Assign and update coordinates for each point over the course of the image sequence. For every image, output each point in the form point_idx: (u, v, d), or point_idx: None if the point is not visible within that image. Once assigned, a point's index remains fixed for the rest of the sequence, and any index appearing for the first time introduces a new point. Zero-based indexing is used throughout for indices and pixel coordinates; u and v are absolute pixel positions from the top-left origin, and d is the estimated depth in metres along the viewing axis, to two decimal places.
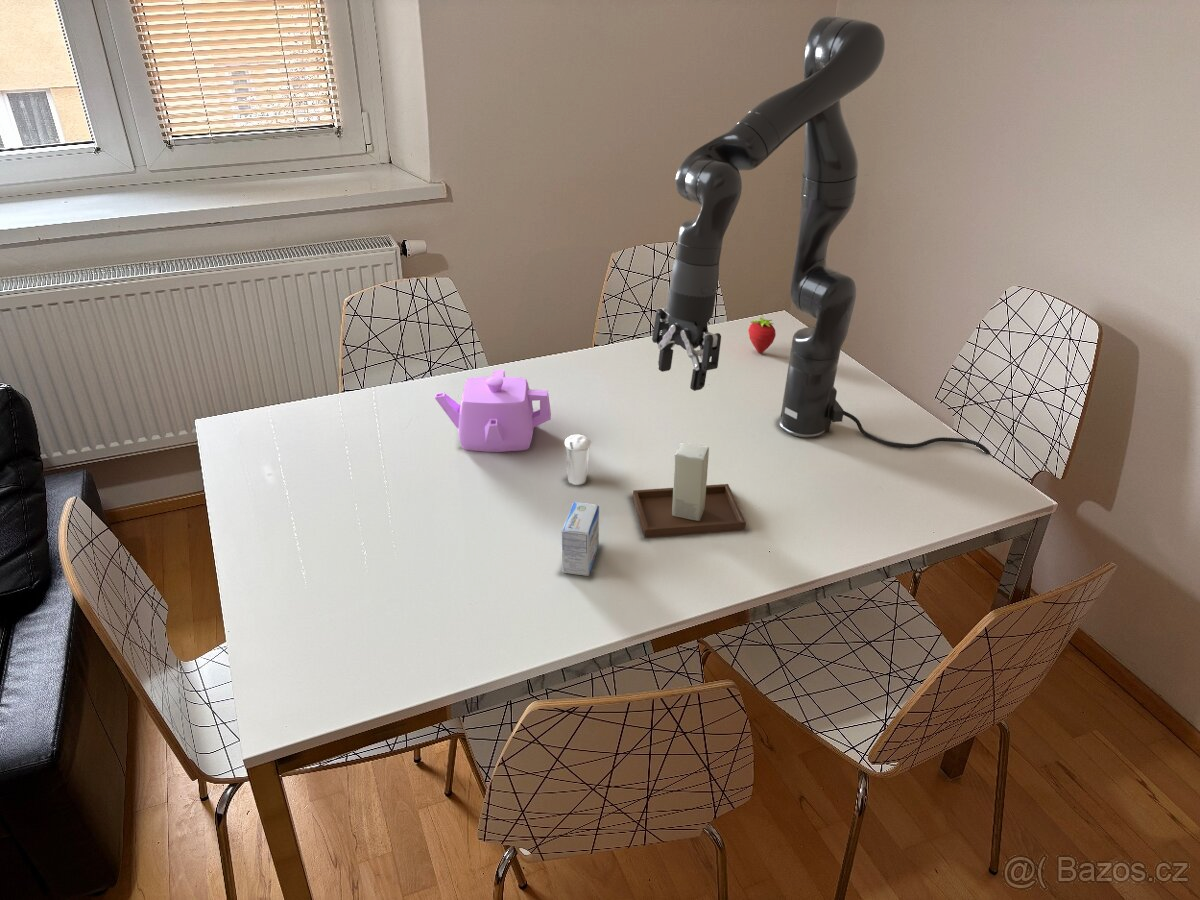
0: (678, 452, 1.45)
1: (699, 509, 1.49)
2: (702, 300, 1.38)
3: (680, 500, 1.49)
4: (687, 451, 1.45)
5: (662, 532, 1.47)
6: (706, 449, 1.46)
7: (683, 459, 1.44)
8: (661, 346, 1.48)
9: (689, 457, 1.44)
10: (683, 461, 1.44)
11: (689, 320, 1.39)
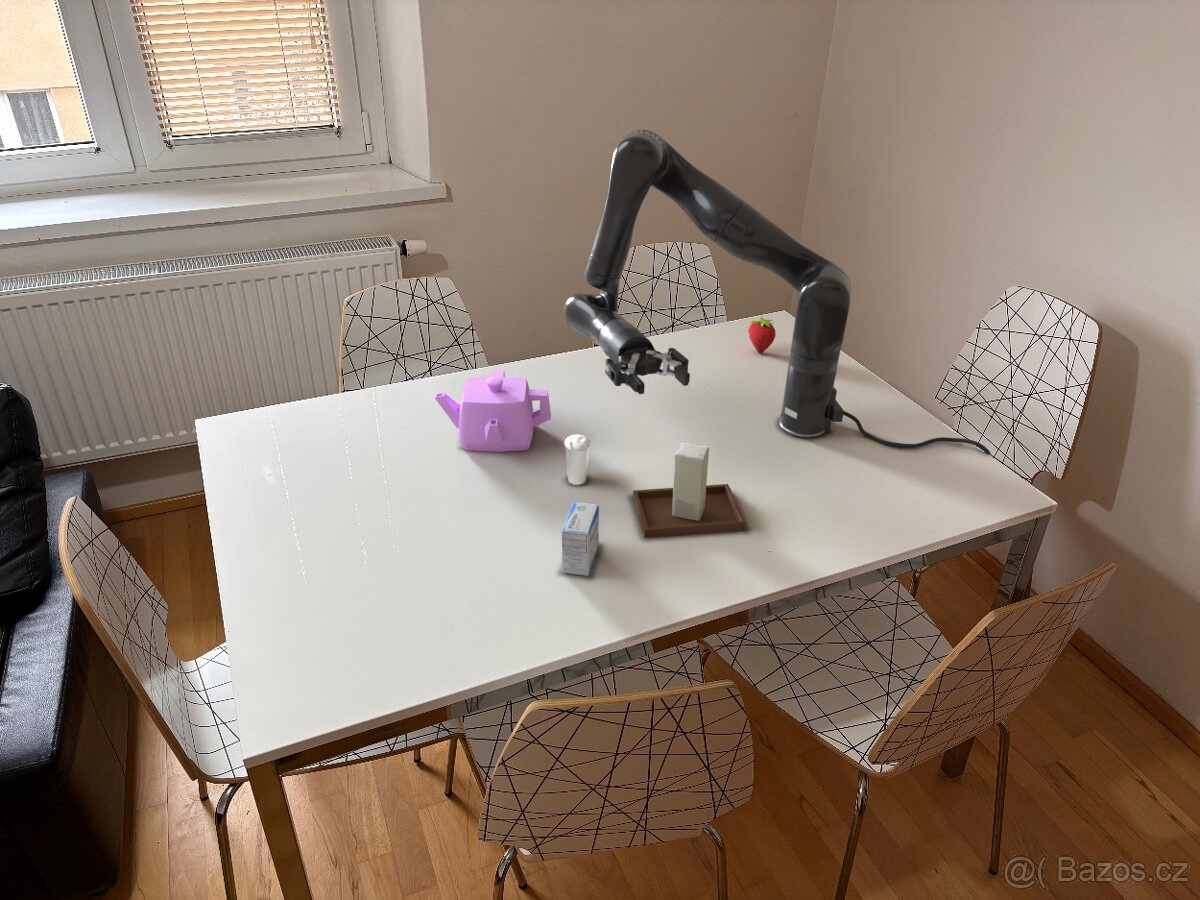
0: (678, 452, 1.45)
1: (699, 509, 1.49)
2: (609, 355, 1.61)
3: (680, 500, 1.49)
4: (686, 451, 1.45)
5: (662, 532, 1.47)
6: (706, 449, 1.46)
7: (683, 459, 1.44)
8: (675, 375, 1.56)
9: (689, 457, 1.44)
10: (683, 461, 1.44)
11: (621, 369, 1.60)
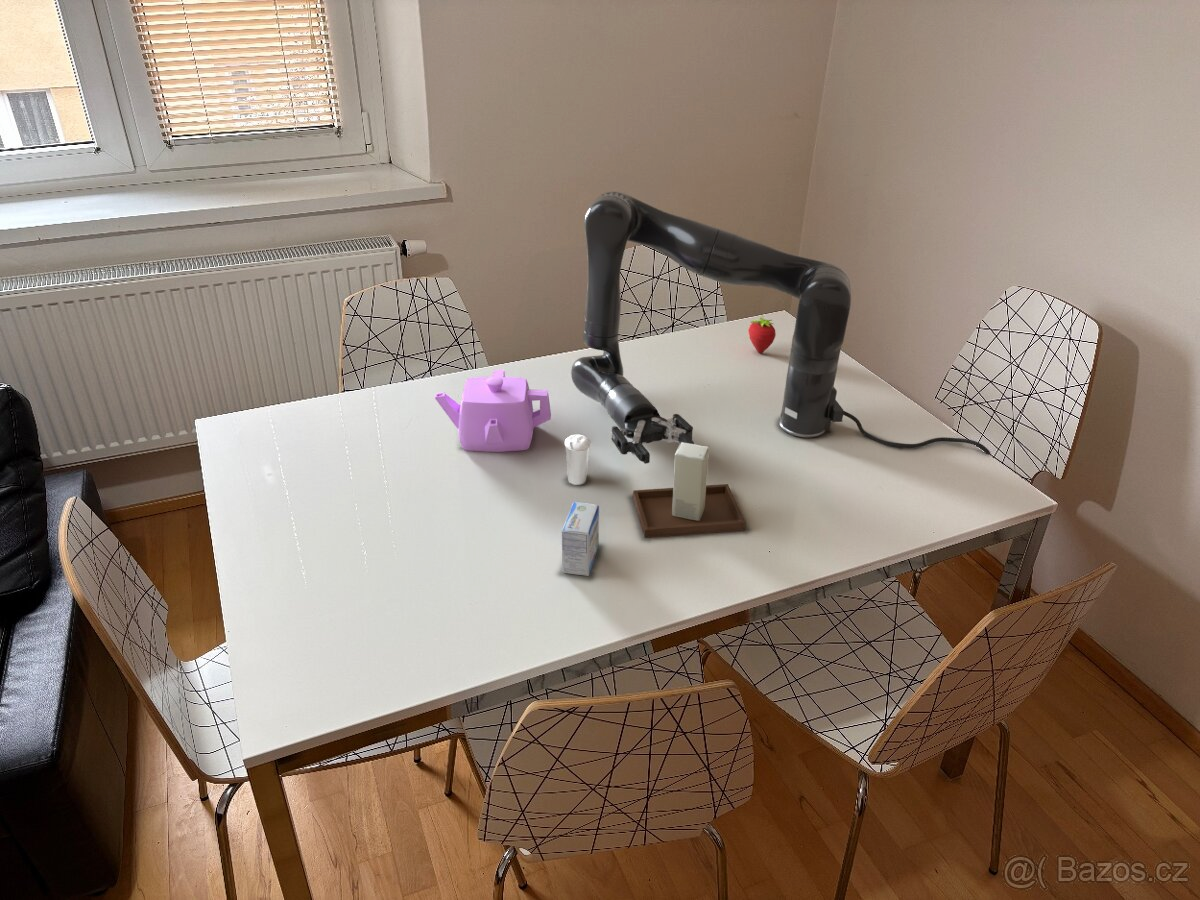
0: (678, 452, 1.45)
1: (699, 509, 1.49)
2: (615, 421, 1.65)
3: (680, 500, 1.49)
4: (686, 451, 1.45)
5: (662, 532, 1.47)
6: (706, 449, 1.46)
7: (683, 459, 1.44)
8: (679, 442, 1.60)
9: (689, 457, 1.44)
10: (683, 461, 1.44)
11: None
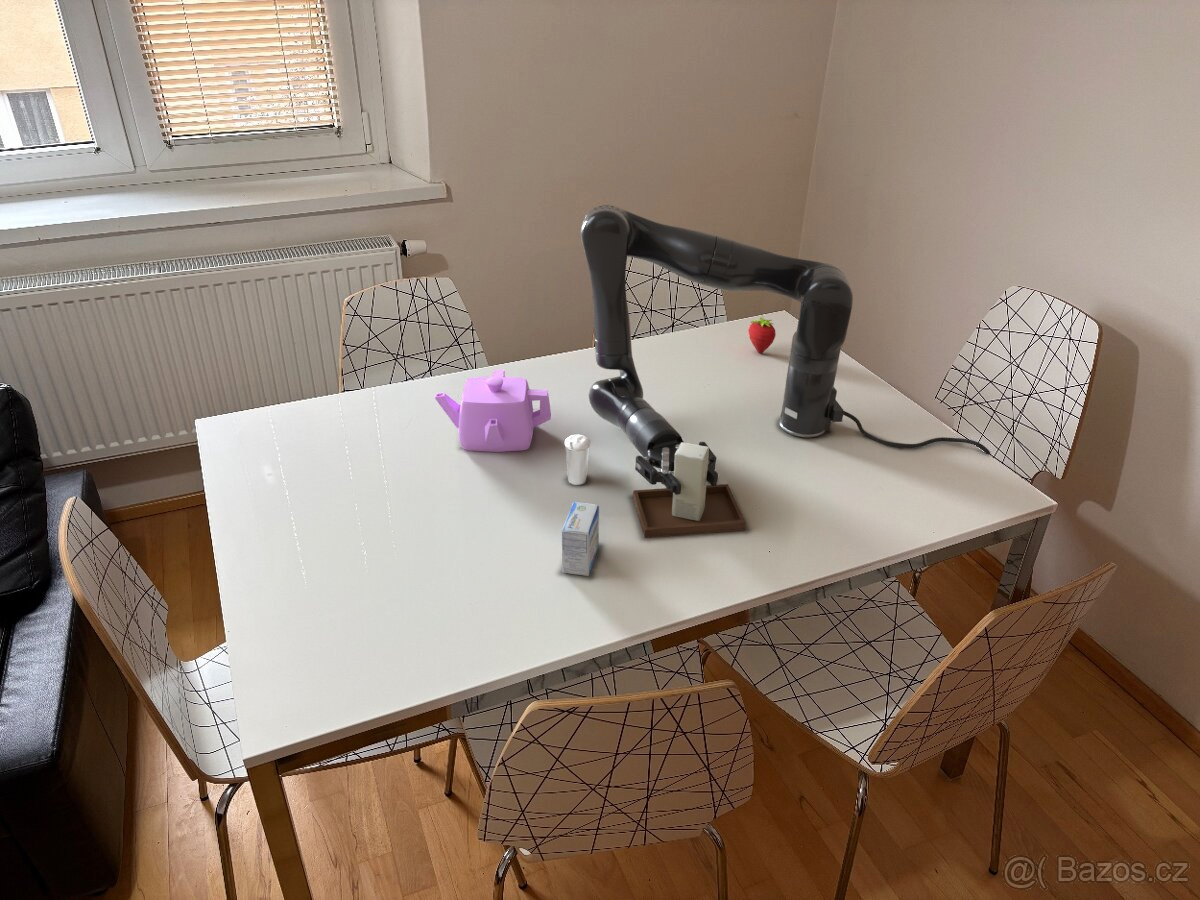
0: (678, 452, 1.45)
1: (699, 509, 1.49)
2: (637, 447, 1.58)
3: (680, 500, 1.49)
4: (686, 451, 1.45)
5: (662, 532, 1.47)
6: (706, 449, 1.46)
7: (683, 459, 1.44)
8: None
9: (689, 457, 1.44)
10: (683, 461, 1.44)
11: None
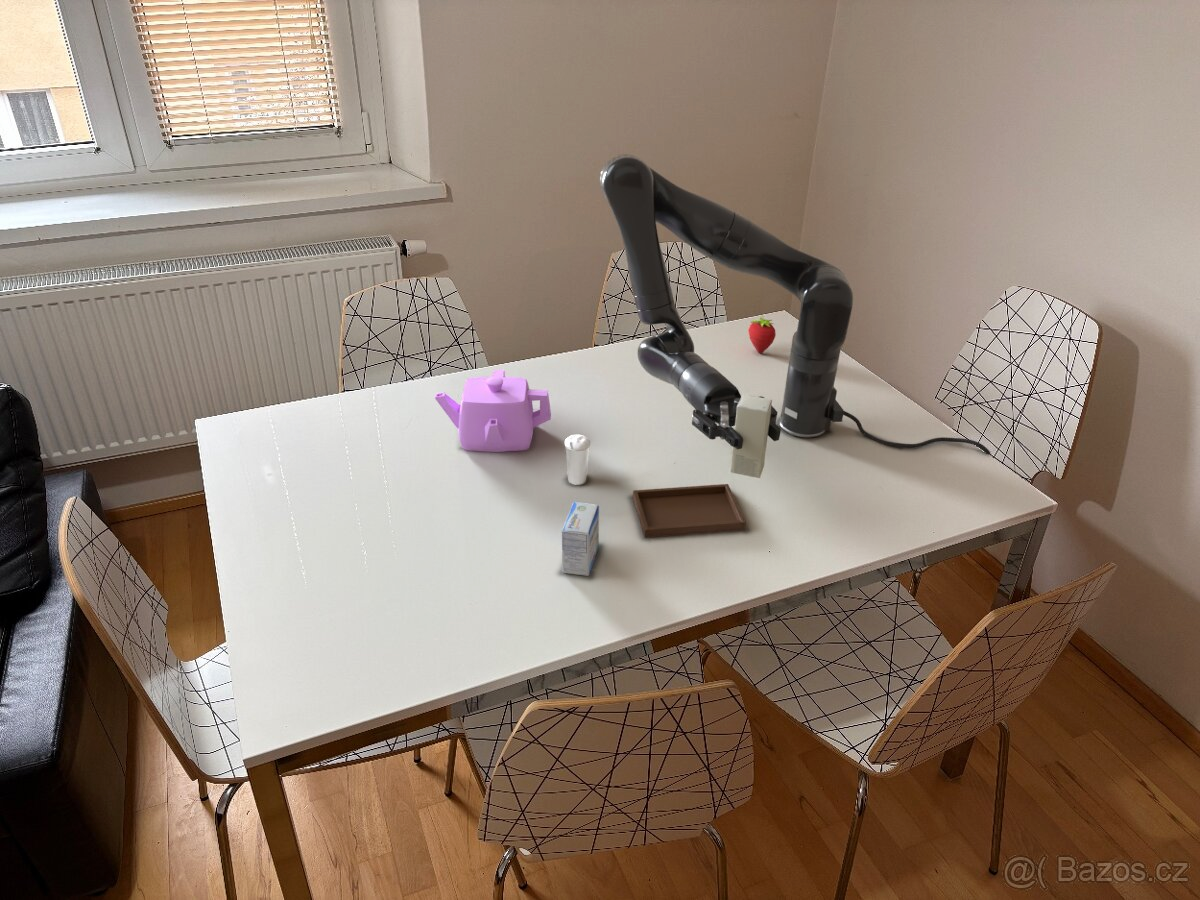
0: (740, 404, 1.38)
1: (760, 465, 1.42)
2: (692, 402, 1.51)
3: (740, 456, 1.42)
4: (749, 404, 1.38)
5: (662, 532, 1.47)
6: (769, 402, 1.39)
7: (745, 411, 1.38)
8: None
9: (752, 409, 1.37)
10: (746, 413, 1.38)
11: None
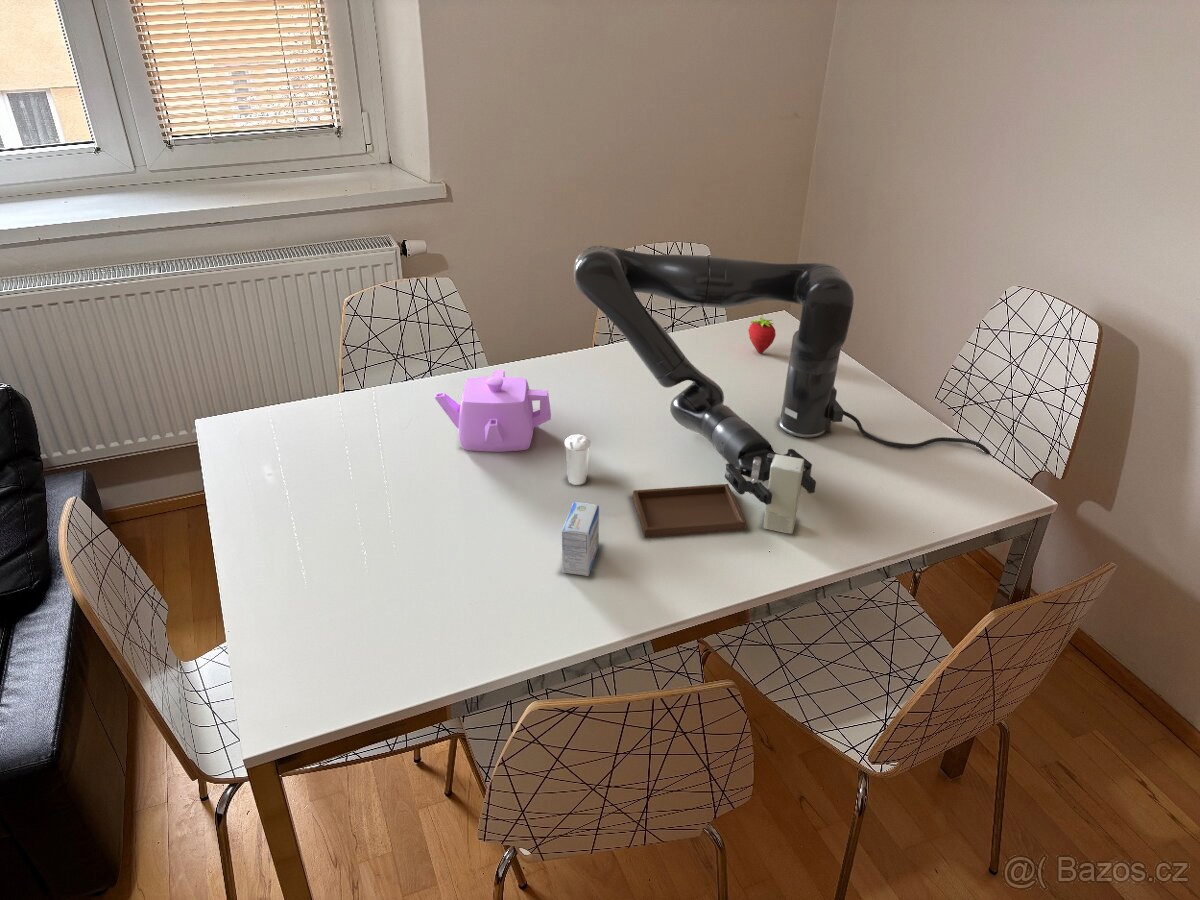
0: (774, 464, 1.43)
1: (793, 522, 1.47)
2: (725, 456, 1.56)
3: (773, 513, 1.47)
4: (782, 464, 1.43)
5: (662, 532, 1.47)
6: (801, 462, 1.44)
7: (779, 471, 1.42)
8: None
9: (786, 469, 1.42)
10: (779, 473, 1.43)
11: None
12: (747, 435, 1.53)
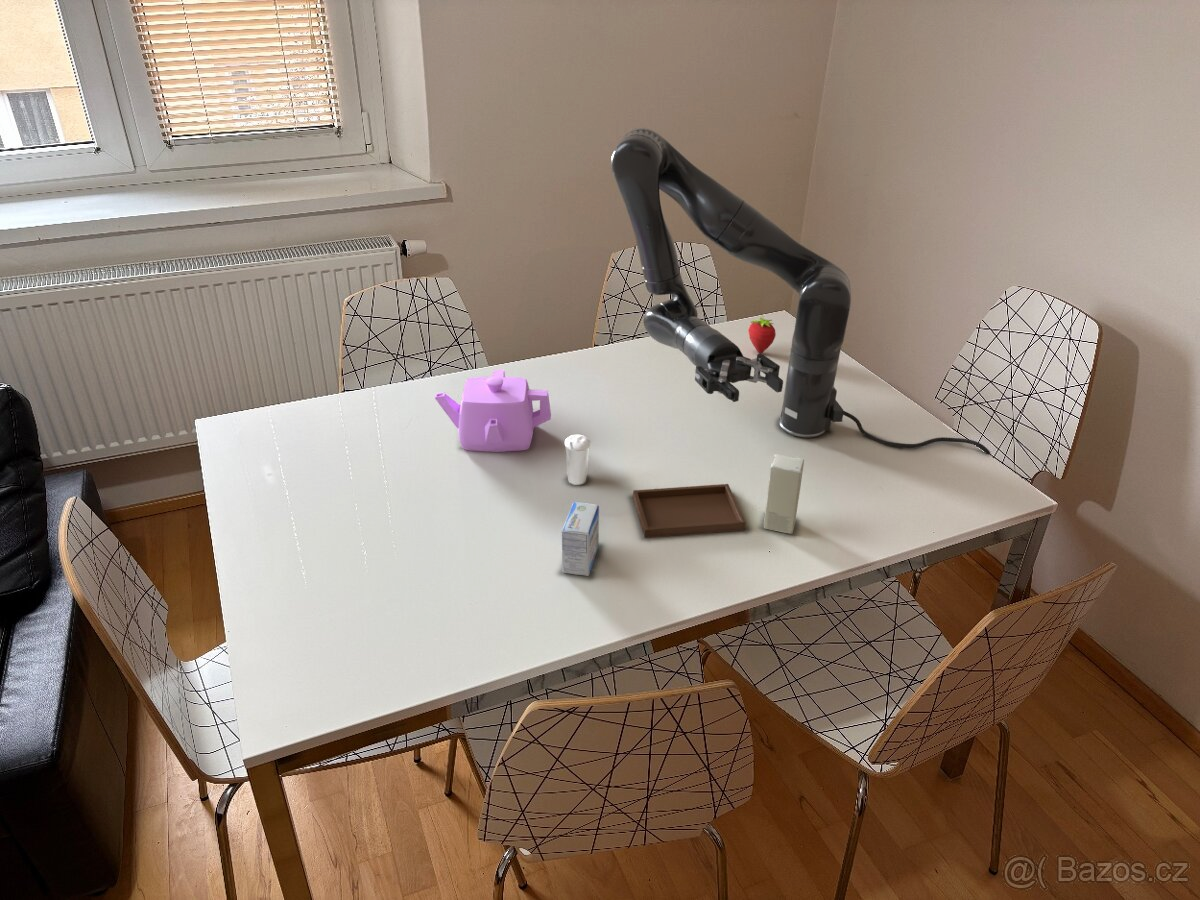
0: (774, 464, 1.43)
1: (792, 522, 1.47)
2: (696, 363, 1.59)
3: (773, 513, 1.47)
4: (782, 464, 1.43)
5: (662, 532, 1.47)
6: (801, 462, 1.44)
7: (779, 471, 1.42)
8: None
9: (785, 469, 1.42)
10: (779, 473, 1.43)
11: None
12: (717, 340, 1.56)
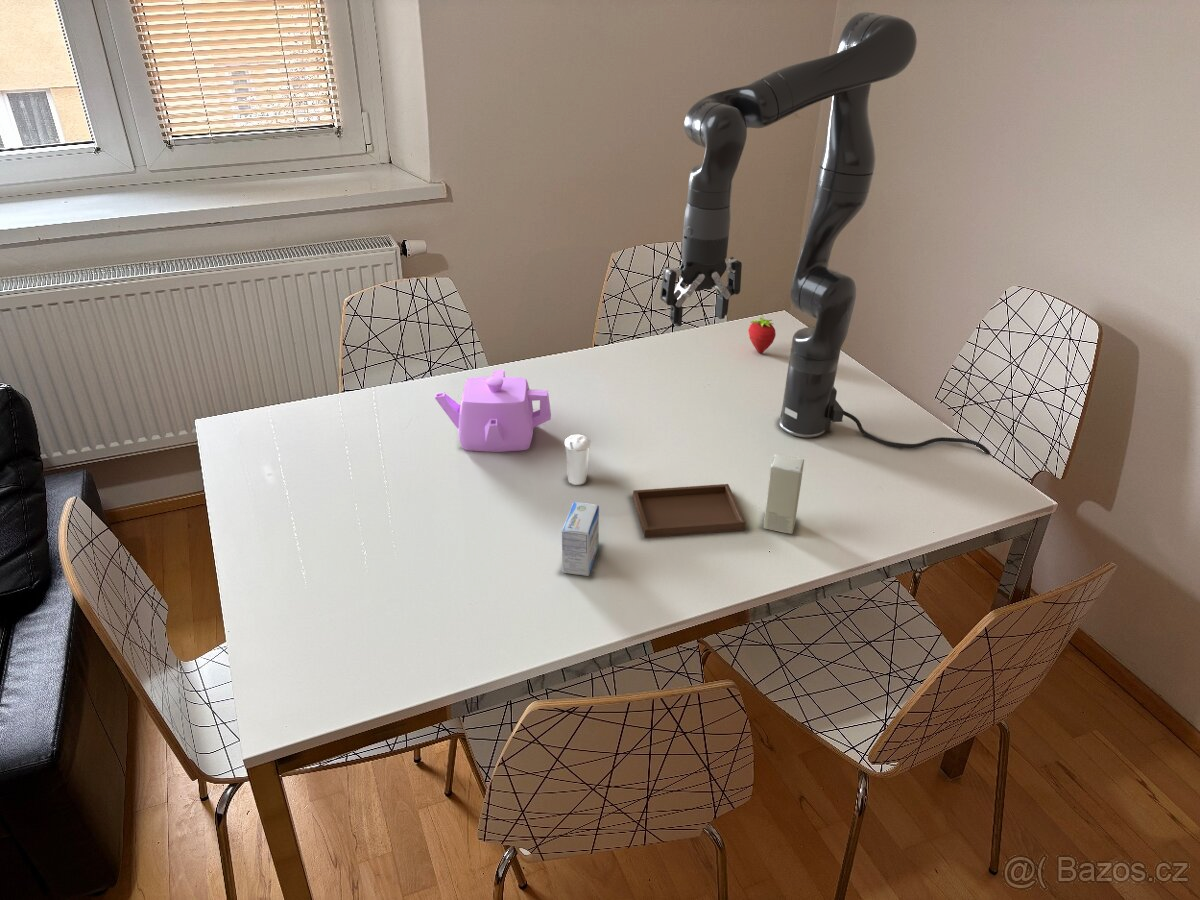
0: (774, 464, 1.43)
1: (792, 522, 1.47)
2: None
3: (773, 513, 1.47)
4: (782, 464, 1.43)
5: (662, 532, 1.47)
6: (801, 462, 1.44)
7: (779, 471, 1.42)
8: (681, 303, 1.48)
9: (785, 469, 1.42)
10: (779, 473, 1.43)
11: (725, 258, 1.45)
12: None
